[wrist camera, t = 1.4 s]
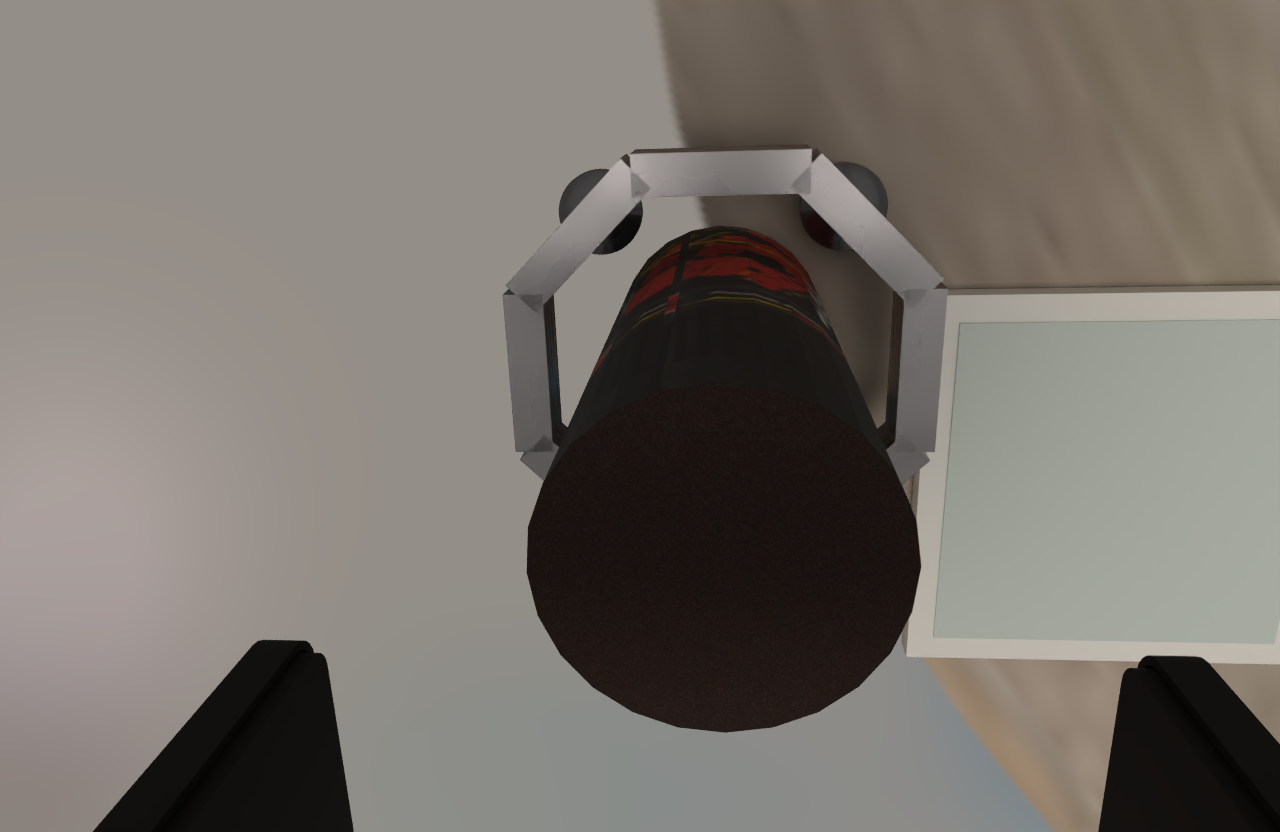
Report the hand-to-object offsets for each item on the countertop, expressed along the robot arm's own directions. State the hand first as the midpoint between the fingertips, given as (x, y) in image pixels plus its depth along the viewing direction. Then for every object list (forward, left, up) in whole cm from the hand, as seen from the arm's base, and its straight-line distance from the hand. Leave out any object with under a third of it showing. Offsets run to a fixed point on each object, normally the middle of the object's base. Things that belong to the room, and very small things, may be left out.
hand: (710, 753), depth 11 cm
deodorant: (-1, 0, -19) cm, 19 cm away
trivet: (+4, +12, -19) cm, 23 cm away
